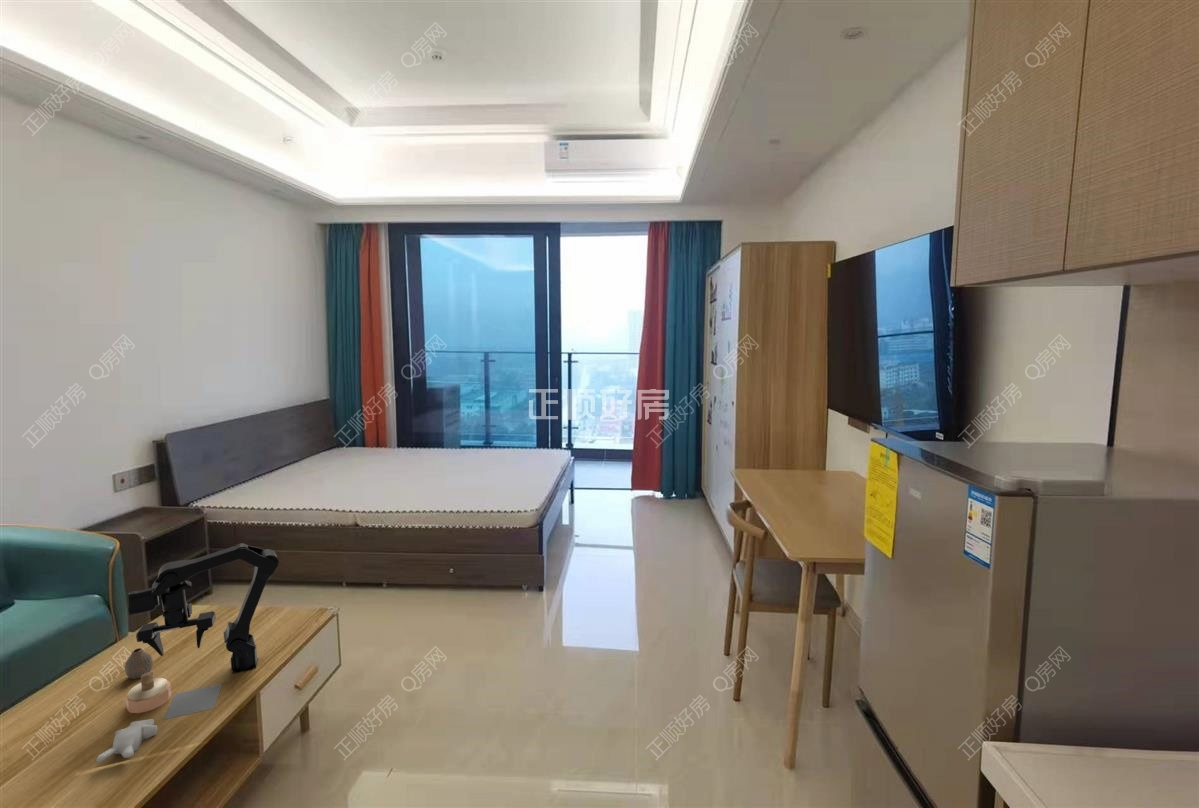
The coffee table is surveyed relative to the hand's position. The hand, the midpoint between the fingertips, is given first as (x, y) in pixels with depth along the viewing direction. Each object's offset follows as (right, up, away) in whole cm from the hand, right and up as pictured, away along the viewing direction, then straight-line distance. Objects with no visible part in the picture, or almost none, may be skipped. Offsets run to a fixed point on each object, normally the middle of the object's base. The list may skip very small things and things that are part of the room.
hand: (180, 651), depth 169 cm
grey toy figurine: (+4, -15, -23) cm, 28 cm away
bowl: (-5, -13, -6) cm, 15 cm away
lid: (-4, -9, -7) cm, 12 cm away
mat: (+8, -13, -6) cm, 16 cm away
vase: (-18, -11, +6) cm, 22 cm away
